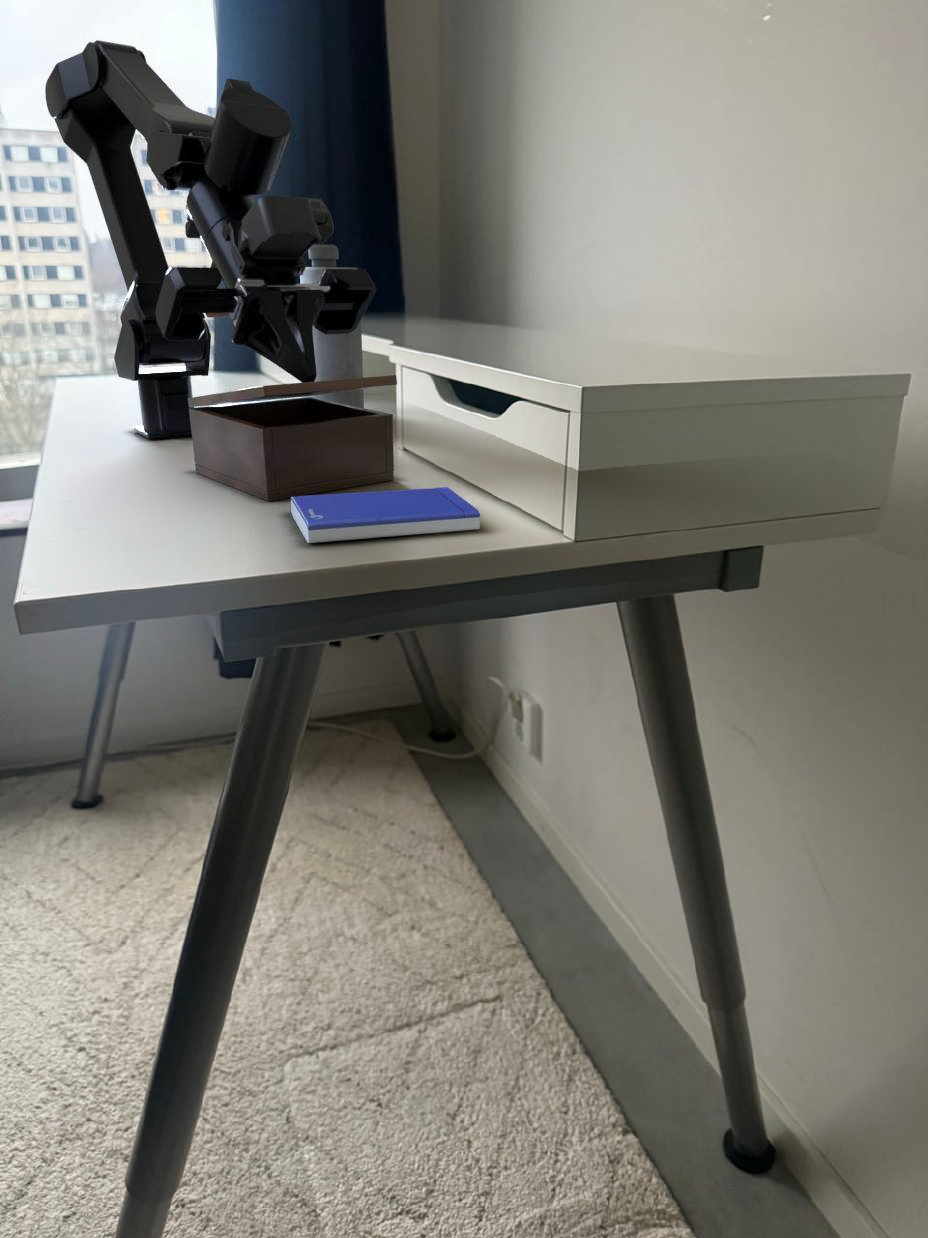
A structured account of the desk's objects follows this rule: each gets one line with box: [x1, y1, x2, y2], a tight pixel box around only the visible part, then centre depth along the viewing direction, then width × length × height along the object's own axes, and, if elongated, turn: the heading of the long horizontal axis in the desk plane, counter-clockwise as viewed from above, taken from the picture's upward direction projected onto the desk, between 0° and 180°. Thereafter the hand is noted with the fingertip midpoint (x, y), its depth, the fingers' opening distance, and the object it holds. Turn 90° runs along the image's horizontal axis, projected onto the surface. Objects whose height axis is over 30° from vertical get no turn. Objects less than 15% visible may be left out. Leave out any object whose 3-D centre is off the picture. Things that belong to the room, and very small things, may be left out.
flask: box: [299, 244, 365, 408], centre depth 105 cm, size 15×6×20 cm, turn 19°
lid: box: [188, 374, 398, 408], centre depth 75 cm, size 14×13×1 cm
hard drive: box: [290, 486, 481, 544], centre depth 64 cm, size 2×8×12 cm
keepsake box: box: [189, 397, 395, 502], centre depth 77 cm, size 14×13×6 cm
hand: (311, 380), depth 72 cm, fingers closed, pressing on lid
